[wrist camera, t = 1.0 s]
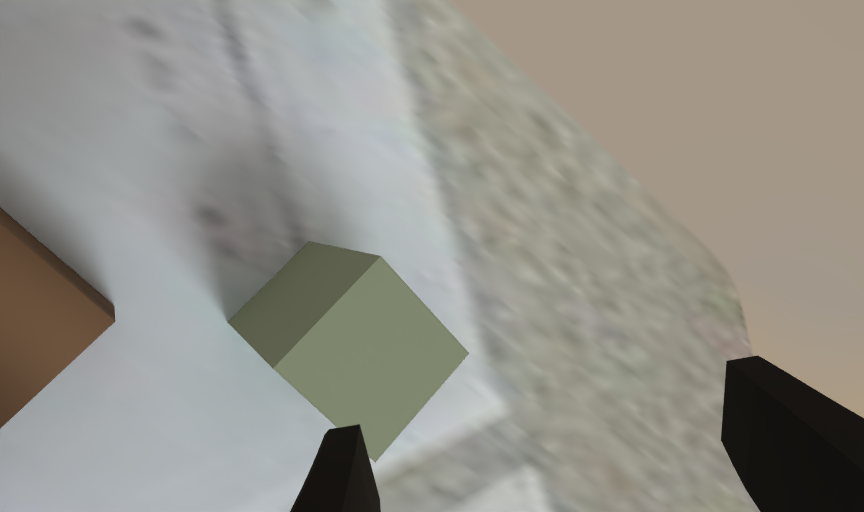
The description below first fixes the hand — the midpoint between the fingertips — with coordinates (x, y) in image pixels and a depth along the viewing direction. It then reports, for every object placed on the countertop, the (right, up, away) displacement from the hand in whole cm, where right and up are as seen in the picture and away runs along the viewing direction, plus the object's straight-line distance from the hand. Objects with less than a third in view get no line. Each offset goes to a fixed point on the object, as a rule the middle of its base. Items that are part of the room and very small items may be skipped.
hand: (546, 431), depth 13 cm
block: (-7, +1, +11) cm, 13 cm away
